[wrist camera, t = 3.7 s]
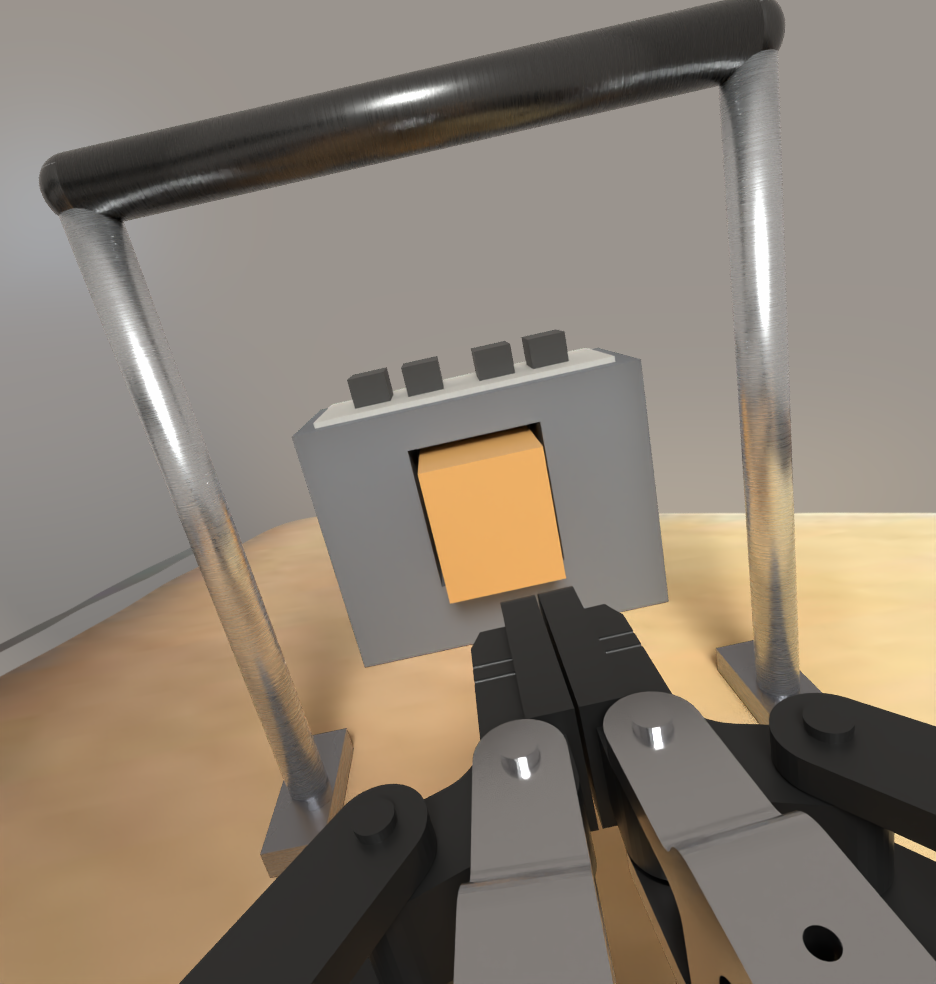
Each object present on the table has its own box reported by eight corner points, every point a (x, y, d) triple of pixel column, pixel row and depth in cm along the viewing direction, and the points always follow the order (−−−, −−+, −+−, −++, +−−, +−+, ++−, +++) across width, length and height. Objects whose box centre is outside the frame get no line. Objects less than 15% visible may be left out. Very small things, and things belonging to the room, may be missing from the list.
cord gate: (270, 878, 22) (-57, 133, 14) (304, 759, 27) (85, 182, 20) (856, 753, 21) (858, -78, 14) (767, 658, 27) (733, 34, 19)
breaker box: (364, 667, 34) (280, 400, 29) (377, 600, 41) (312, 380, 36) (668, 601, 33) (636, 320, 28) (625, 546, 41) (593, 317, 36)
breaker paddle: (450, 603, 29) (417, 474, 27) (447, 562, 34) (420, 448, 32) (566, 578, 29) (542, 446, 27) (547, 540, 34) (526, 425, 32)
